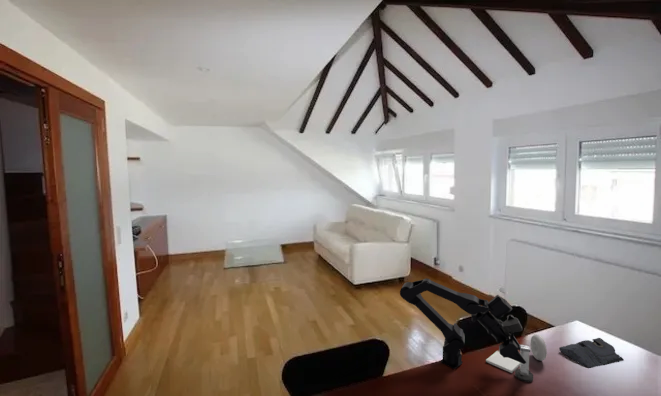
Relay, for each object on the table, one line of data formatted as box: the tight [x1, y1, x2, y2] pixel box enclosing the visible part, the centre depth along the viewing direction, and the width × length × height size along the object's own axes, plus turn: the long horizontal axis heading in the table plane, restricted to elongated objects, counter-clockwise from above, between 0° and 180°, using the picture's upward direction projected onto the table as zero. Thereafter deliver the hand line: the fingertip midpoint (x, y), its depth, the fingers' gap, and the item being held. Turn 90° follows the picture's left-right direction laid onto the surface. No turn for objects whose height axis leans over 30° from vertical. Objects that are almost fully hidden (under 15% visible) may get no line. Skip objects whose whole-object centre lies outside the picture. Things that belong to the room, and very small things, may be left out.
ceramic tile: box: [485, 350, 520, 374], centre depth 135 cm, size 10×10×1 cm
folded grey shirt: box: [559, 337, 625, 369], centre depth 139 cm, size 15×22×5 cm
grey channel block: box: [514, 344, 534, 383], centre depth 125 cm, size 6×6×12 cm
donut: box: [529, 334, 548, 361], centre depth 136 cm, size 10×3×10 cm, turn 168°
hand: (523, 356), depth 125 cm, fingers open, 9 cm apart
